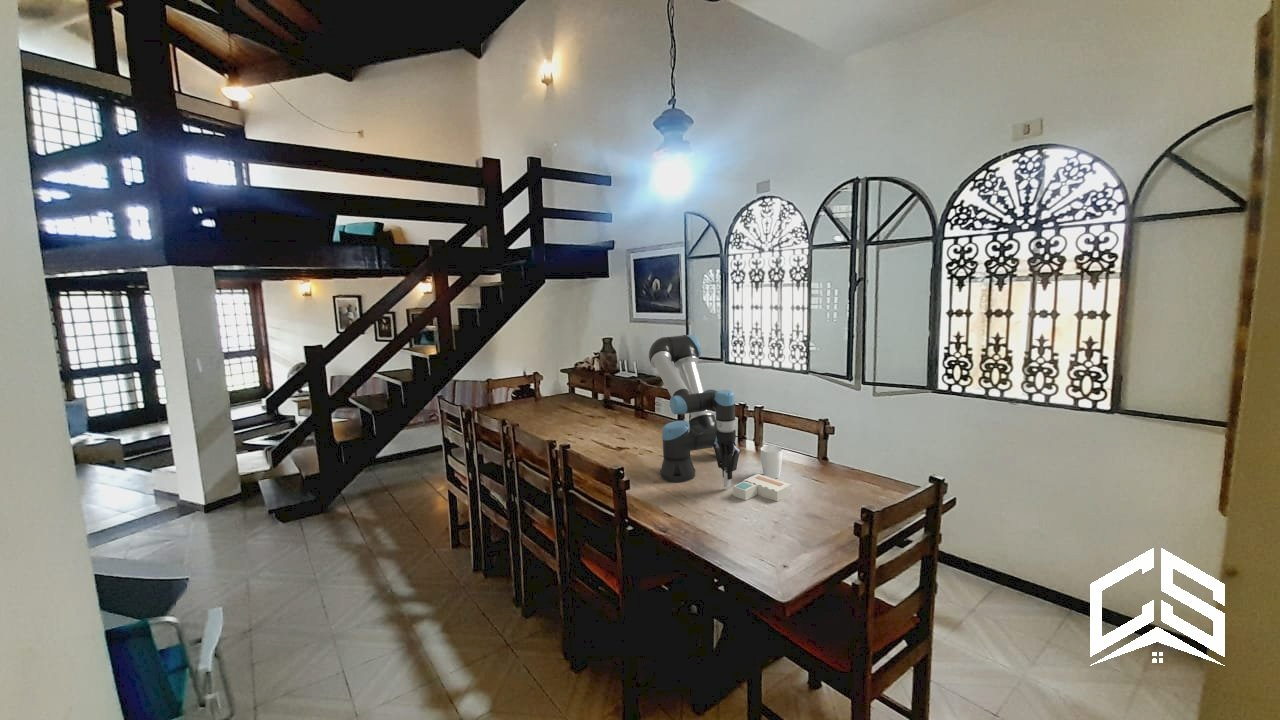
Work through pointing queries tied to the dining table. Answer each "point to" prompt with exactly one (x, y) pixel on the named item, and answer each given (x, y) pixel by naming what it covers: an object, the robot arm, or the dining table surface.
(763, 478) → the block
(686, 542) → the dining table surface
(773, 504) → the dining table surface
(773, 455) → the cup
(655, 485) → the dining table surface
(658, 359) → the robot arm
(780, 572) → the dining table surface
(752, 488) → the white teal-topped box
